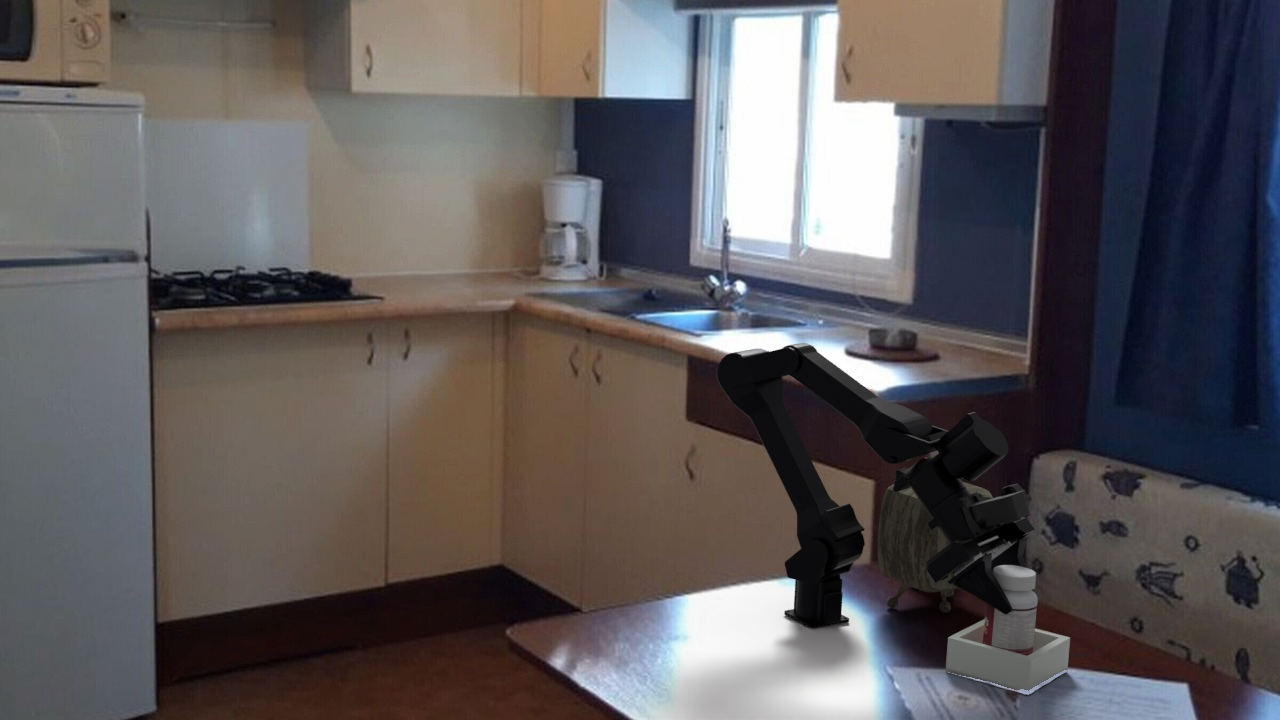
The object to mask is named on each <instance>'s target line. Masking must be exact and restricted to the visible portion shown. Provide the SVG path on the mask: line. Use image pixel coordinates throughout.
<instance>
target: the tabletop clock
mask: <svg viewBox="0 0 1280 720" xmlns="http://www.w3.org/2000/svg"><path fill="white" fill-rule="evenodd" d="M924 456H925V458H926V457H927V458H928V459H932V458H934V457H931V455H930V453H928V454H925V455H924ZM962 483H963V484H964V485H965V487H966V488H967V490H968V491H969V492H970V494H973V493H976V492H977V493H980V494H981V495H982V496H983V498H984V499H985V500H990V499H993V498H994V497H993V495H992V494H991V492H990V491H989V490H988V489H985V488H984V487H980V486H977V485H975V484H972V483H968V482H965V481H962ZM893 487H894V483H892V484H891V485H890V486H888V487H887V488H886V489H885V490H886V491H885V493H884V495H883V498H882V502H881V508H880V514H879V521H878V528H877V529H878V531H877V561H878V567H879V571H880V575H882V576H883V577H886V578H889V579H891V580H894V581H897V582H899V583H901V586H900V587H899V589H898V590H897V592H896V594H895V596H893V595H892V596H889V597H888V598H887V599H886V606H887V607H889V608H890V609H896V607H897V606H899V598H900V597H902V595H903V594H904V593H905V592H906V591H907V590H908V589H911V588H914V589H916V590H919V591H920V592H924V593H936V592H937V593H938V592H940V597H941V600H942V601H941V602H940V603H939V605H938V608H939V611H940V612H941V613H943V614H947V613H949V612H950V611H951V607H952V606H951V604H950V602H949V601H947V598H950V597H952V596H954V594H955V590H956V589H959V587H957V586H955V585H954V584H951V585H950V584H949V583H948V581H949V580H950V579H952V578H953V577H954V576H955V575H954V573H953V572H951V573H950V574H948V578H946V579H945V580H943V581H941V582H939V583H936V584H934V583H933V581H932V580H931V578H930V577H929V575H928V574H927V572H926V565H927V561H928V560H929V559H931V558H932V557H933V556H935V555H936V554H937V553H939V552H940V551H941V550H942V549H944V548H945V547H946V546H948V545H949V542H948V541H947V540H946V538H945V537H944V535H943V534H942V532H941V531H940V529H939V528H936V529H934V530H932V529H931V528H930V527H929V525H928V524H927V523H929V522H930V521H931V520H932V518H931V516H930V515H929V513H928V512H927V511H926V509H925V508H924V506H923V505H922V503H921V502H920V500H919V499H918V497H917V496H916V495H915V493H914V492H913V490H912V489H911V487H910V488H907V489H904V490H901V491H899V492H895V491H894V490H893ZM984 555H985V554H983V556H984Z"/></svg>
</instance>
